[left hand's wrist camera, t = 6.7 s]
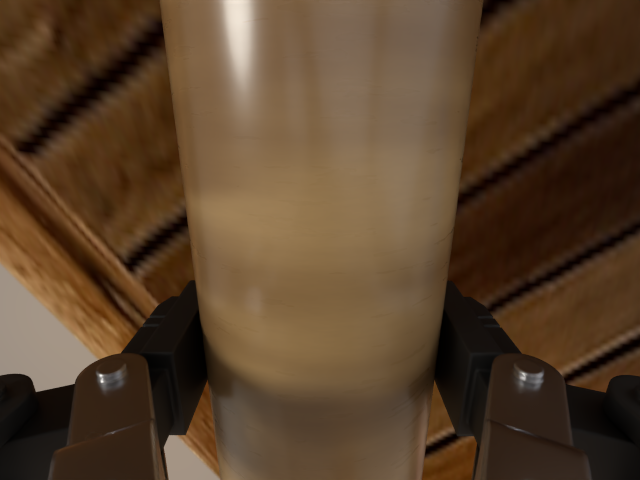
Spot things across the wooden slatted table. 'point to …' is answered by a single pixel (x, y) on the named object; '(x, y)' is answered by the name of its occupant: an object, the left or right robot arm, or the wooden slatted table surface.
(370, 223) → the rod
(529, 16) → the wooden slatted table surface
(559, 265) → the wooden slatted table surface
